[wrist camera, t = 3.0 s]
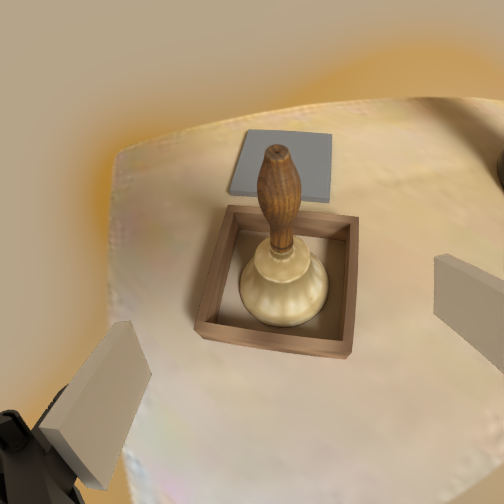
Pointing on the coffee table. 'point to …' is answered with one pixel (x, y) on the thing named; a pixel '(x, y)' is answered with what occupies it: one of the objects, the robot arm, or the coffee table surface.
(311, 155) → the grey rubber pad
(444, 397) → the coffee table surface
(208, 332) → the brown wooden square frame
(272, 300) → the hand bell
